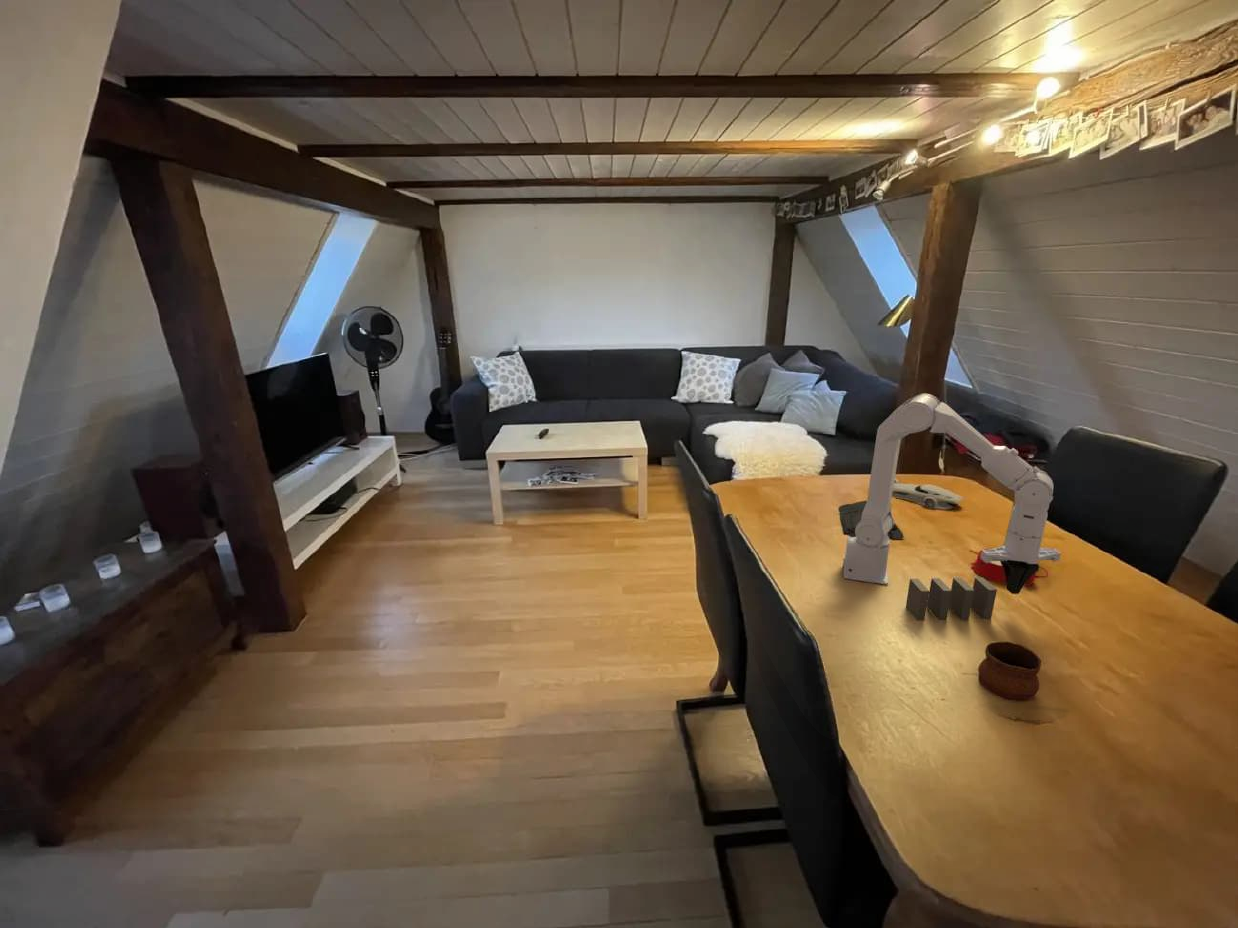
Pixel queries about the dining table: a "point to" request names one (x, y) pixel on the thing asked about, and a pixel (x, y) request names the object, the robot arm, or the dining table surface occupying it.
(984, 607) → the domino
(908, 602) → the loose domino
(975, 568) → the alarm clock
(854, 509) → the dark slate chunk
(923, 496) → the car model
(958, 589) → the domino
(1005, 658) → the ceramic pot
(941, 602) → the domino
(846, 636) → the dining table surface
